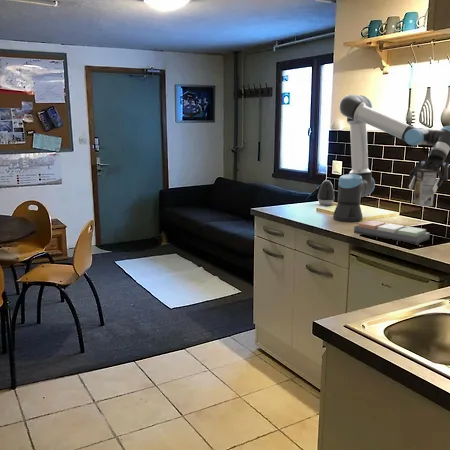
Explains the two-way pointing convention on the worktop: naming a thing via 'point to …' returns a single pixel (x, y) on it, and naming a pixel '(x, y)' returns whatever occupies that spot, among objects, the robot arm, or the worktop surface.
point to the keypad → (392, 235)
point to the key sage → (412, 231)
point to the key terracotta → (370, 224)
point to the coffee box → (424, 187)
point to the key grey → (390, 227)
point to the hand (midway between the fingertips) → (421, 189)
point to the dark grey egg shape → (326, 193)
